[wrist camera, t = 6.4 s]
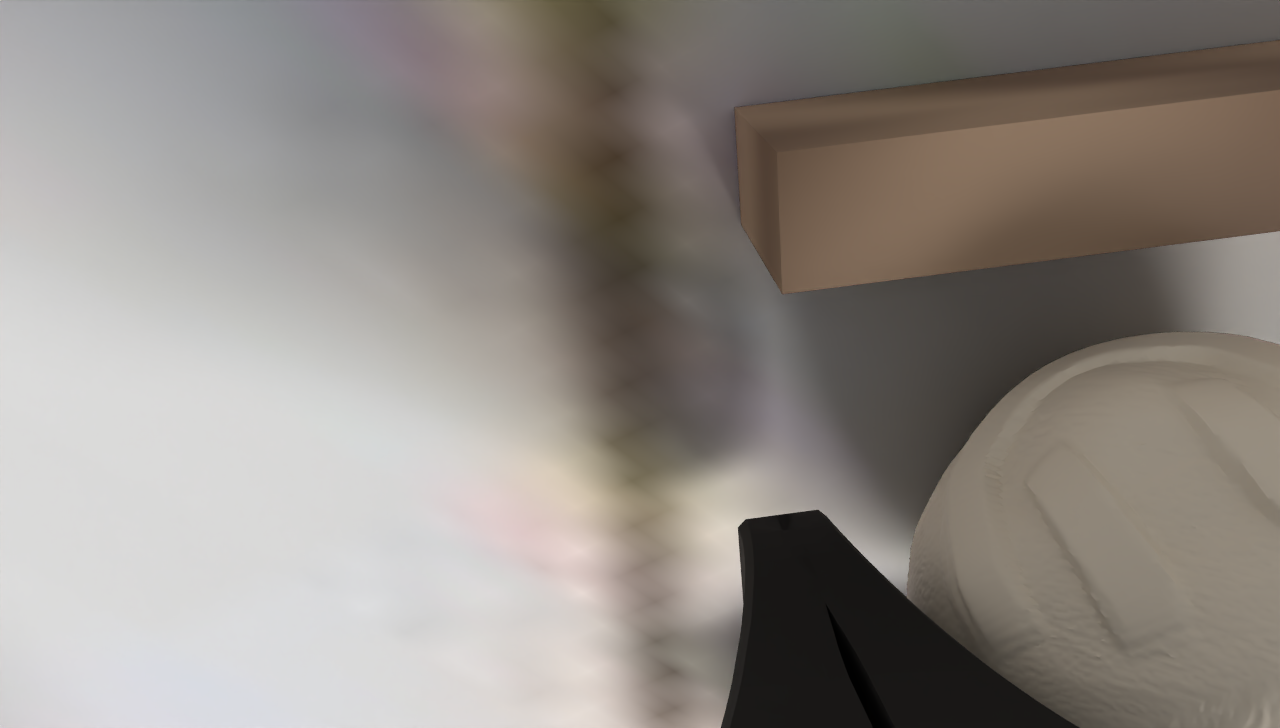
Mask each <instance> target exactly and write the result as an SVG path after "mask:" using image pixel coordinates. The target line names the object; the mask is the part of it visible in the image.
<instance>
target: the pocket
mask: <svg viewBox="0 0 1280 728" xmlns="http://www.w3.org/2000/svg"><path fill="white" fill-rule="evenodd" d="M734 111H735V128H736V145H737V162H738V179H739V196H740V213H741V225H742V227H743V228H744V230H745V232H746V233H747V235H748V237H749V239H750V240H751V242H752V244H753V245H754V247H755V249H756V250H757V252H758V254H759V256H760V257H761V259H762V261H763V262H764V264H765V266H766V267H767V269H768V271H769V272H770V274H771V276H772V278H773V279H774V281H775V283H776V284H777V286H778V288H779V289H780V291H781V293H782V294H789V293H796V292H804V291H812V290H820V289H828V288H836V287H844V286H851V285H859V284H867V283H875V282H883V281H891V280H899V279H906V278H914V277H922V276H930V275H938V274H946V273H954V272H961V271H969V270H977V269H985V268H993V267H1001V266H1009V265H1016V264H1024V263H1032V262H1040V261H1048V260H1056V259H1064V258H1071V257H1079V256H1087V255H1095V254H1103V253H1111V252H1119V251H1126V250H1134V249H1142V248H1150V247H1158V246H1166V245H1174V244H1182V243H1189V242H1197V241H1205V240H1213V239H1221V238H1229V237H1237V236H1244V235H1252V234H1260V233H1268V232H1276V231H1280V40H1276V41H1268V42H1260V43H1252V44H1244V45H1236V46H1228V47H1220V48H1212V49H1204V50H1196V51H1188V52H1179V53H1171V54H1163V55H1155V56H1147V57H1139V58H1131V59H1123V60H1115V61H1107V62H1099V63H1090V64H1082V65H1074V66H1066V67H1058V68H1050V69H1042V70H1034V71H1026V72H1018V73H1010V74H1001V75H993V76H985V77H977V78H969V79H961V80H953V81H945V82H937V83H929V84H921V85H913V86H904V87H896V88H888V89H880V90H872V91H864V92H856V93H848V94H840V95H832V96H824V97H815V98H807V99H799V100H791V101H783V102H775V103H767V104H759V105H751V106H743V107H735V108H734Z"/></svg>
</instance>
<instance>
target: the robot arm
mask: <svg viewBox="0 0 1280 728" xmlns="http://www.w3.org/2000/svg"><path fill="white" fill-rule="evenodd" d="M738 535H739V548H740V562H741V576H742V589H743V603H744V605H743V616H742V627H741V634H740V641H739V646H738V652H737V658H736V664H735V669H734V675H733V680H732V685H731V689H730V694H729V698H728V703H727V707H726V711H725V715H724V718H723V722H722V726H721V728H1080V727H1078V726H1076V725H1074V724H1073V723H1071V722H1069V721H1068V720H1066V719H1064V718H1063V717H1061V716H1060V715H1058V714H1057V713H1055V712H1054V711H1052V710H1050V709H1049V708H1047V707H1046V706H1044V705H1043V704H1041V703H1040V702H1038V701H1037V700H1035V699H1034V698H1032V697H1031V696H1029V695H1028V694H1027V693H1025V692H1024V691H1022V690H1021V689H1019V688H1018V687H1017V686H1015V685H1014V684H1012V683H1011V682H1009V681H1008V680H1007V679H1005V678H1004V677H1002V676H1001V675H1000V674H998V673H997V672H996V671H994V670H993V669H992V668H990V667H989V666H988V665H986V664H985V663H984V662H983V661H981V660H980V659H979V658H977V657H976V656H975V655H974V654H972V653H971V652H970V651H968V650H967V649H966V648H965V647H964V646H962V645H961V644H960V643H959V642H957V641H956V640H955V639H954V638H953V637H951V636H950V635H949V634H948V633H946V632H945V631H944V630H943V629H942V628H940V627H939V626H938V625H937V624H936V623H935V622H934V621H932V620H931V619H930V618H929V617H928V616H927V615H925V614H924V613H923V612H922V611H921V610H920V609H919V608H918V607H917V606H916V605H914V604H913V603H912V602H911V601H910V600H909V599H908V598H907V597H906V596H905V595H904V594H902V593H901V592H900V591H899V590H898V589H897V588H896V587H895V586H894V585H893V584H892V583H890V582H889V581H888V580H887V579H886V578H885V577H884V576H883V575H882V574H881V573H880V572H879V571H878V570H877V569H876V568H875V567H874V566H873V565H872V564H871V563H870V562H869V561H868V560H867V559H866V558H865V557H864V556H863V555H862V554H861V553H860V552H859V551H858V550H857V549H856V548H855V547H854V546H853V545H852V543H851V542H850V541H849V540H848V539H847V538H846V537H845V536H844V535H843V534H842V533H841V532H840V531H839V530H838V529H837V527H836V526H835V525H834V524H833V523H832V522H831V521H830V520H829V519H828V518H827V516H825V515H824V514H823V513H822V512H820V511H819V510H813V511H805V512H798V513H790V514H783V515H775V516H768V517H760V518H753V519H746V520H745V521H744V522H743V523H742V524H741V525H740V526H739V527H738Z"/></svg>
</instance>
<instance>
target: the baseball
mask: <svg viewBox="0 0 1280 728" xmlns="http://www.w3.org/2000/svg"><path fill="white" fill-rule="evenodd" d="M909 559H910V562H909V573H908V582H907V598H908V599H909V600H910V601H911V602H912V603H913V604H914V605H916V606H917V607H918V608H919V609H920V610H921V611H922V612H923V613H924V614H925V615H927V616H928V617H929V618H930V619H931V620H932V621H934V622H935V623H936V624H937V625H938V626H939V627H940V628H942V629H943V630H944V631H945V632H946V633H948V634H949V635H950V636H951V637H953V638H954V639H955V640H956V641H957V642H959V643H960V644H961V645H962V646H964V647H965V648H966V649H967V650H968V651H970V652H971V653H972V654H974V655H975V656H976V657H977V658H979V659H980V660H981V661H983V662H984V663H985V664H986V665H988V666H989V667H990V668H992V669H993V670H994V671H996V672H997V673H998V674H1000V675H1001V676H1002V677H1004V678H1005V679H1007V680H1008V681H1009V682H1011V683H1012V684H1014V685H1015V686H1017V687H1018V688H1019V689H1021V690H1022V691H1024V692H1025V693H1027V694H1028V695H1029V696H1031V697H1032V698H1034V699H1035V700H1037V701H1038V702H1040V703H1041V704H1043V705H1044V706H1046V707H1047V708H1049V709H1050V710H1052V711H1054V712H1055V713H1057V714H1058V715H1060V716H1061V717H1063V718H1064V719H1066V720H1068V721H1069V722H1071V723H1073V724H1074V725H1076V726H1078V727H1080V728H1280V345H1279V344H1275V343H1271V342H1267V341H1263V340H1259V339H1255V338H1252V337H1248V336H1242V335H1235V334H1226V333H1214V332H1179V331H1177V332H1162V333H1153V334H1144V335H1138V336H1131V337H1125V338H1120V339H1115V340H1111V341H1107V342H1103V343H1099V344H1096V345H1092V346H1089V347H1086V348H1084V349H1081V350H1078V351H1075V352H1072V353H1070V354H1068V355H1065V356H1064V357H1062V358H1059V359H1057V360H1055V361H1053V362H1051V363H1049V364H1047V365H1045V366H1044V367H1042V368H1041V369H1039V370H1038V371H1036V372H1034V373H1033V374H1031V375H1030V376H1028V377H1027V378H1025V379H1024V380H1023V381H1022V382H1021V383H1019V384H1018V385H1017V386H1015V387H1014V388H1013V389H1012V390H1011V391H1010V392H1008V393H1007V394H1006V395H1005V396H1004V397H1003V398H1002V399H1001V400H1000V401H999V402H998V403H997V404H996V405H995V407H994V408H993V409H992V410H991V411H990V412H989V413H988V414H987V416H986V417H985V418H984V419H983V421H982V422H981V423H980V424H979V426H978V427H977V428H976V429H975V430H974V432H973V433H972V434H971V436H970V438H969V440H968V441H967V442H966V444H965V445H964V447H963V448H962V449H961V450H960V452H959V453H958V454H957V455H956V457H955V458H954V459H953V460H952V461H951V463H950V464H949V466H948V468H947V469H946V470H945V472H944V473H943V475H942V477H941V479H940V481H939V482H938V484H937V486H936V488H935V490H934V492H933V493H932V496H931V497H930V499H929V502H928V503H927V505H926V507H925V508H924V512H923V513H922V515H921V517H920V519H919V522H918V524H917V527H916V530H915V533H914V536H913V543H912V546H911V552H910V558H909Z"/></svg>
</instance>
